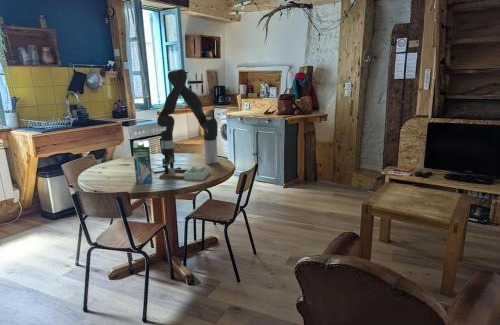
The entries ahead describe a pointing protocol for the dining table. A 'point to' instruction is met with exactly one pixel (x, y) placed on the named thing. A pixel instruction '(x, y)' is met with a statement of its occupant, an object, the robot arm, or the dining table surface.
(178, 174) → the tray
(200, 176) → the bin
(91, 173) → the dining table surface
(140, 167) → the milk carton
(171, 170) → the stone
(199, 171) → the stone
